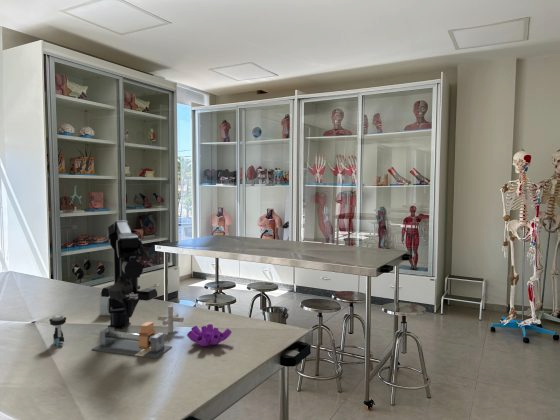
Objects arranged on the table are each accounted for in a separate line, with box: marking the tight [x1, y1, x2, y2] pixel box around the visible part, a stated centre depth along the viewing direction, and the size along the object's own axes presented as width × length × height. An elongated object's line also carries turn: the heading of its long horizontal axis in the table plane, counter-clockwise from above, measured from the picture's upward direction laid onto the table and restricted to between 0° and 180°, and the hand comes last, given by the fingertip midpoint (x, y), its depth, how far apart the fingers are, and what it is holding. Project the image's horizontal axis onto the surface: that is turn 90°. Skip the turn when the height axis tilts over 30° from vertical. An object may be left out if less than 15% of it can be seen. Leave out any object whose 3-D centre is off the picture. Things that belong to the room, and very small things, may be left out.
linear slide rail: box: [99, 326, 165, 354], centre depth 146 cm, size 22×5×5 cm, turn 75°
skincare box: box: [99, 290, 111, 316], centre depth 188 cm, size 10×6×10 cm, turn 179°
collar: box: [138, 321, 156, 349], centre depth 145 cm, size 3×5×8 cm, turn 164°
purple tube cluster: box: [186, 323, 232, 347], centre depth 151 cm, size 11×15×10 cm
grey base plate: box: [91, 338, 173, 360], centre depth 147 cm, size 25×10×1 cm, turn 75°
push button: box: [48, 314, 67, 347], centre depth 150 cm, size 7×5×10 cm
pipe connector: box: [157, 305, 185, 333], centre depth 163 cm, size 10×10×10 cm
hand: (129, 317), depth 146 cm, fingers closed
